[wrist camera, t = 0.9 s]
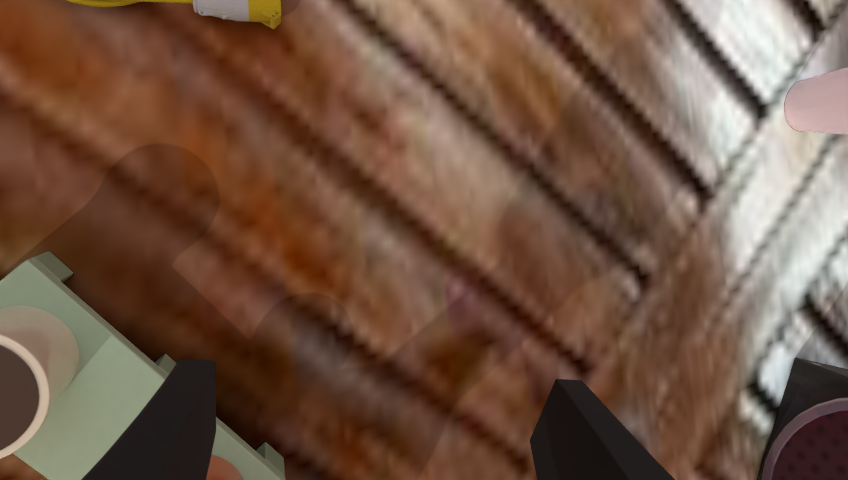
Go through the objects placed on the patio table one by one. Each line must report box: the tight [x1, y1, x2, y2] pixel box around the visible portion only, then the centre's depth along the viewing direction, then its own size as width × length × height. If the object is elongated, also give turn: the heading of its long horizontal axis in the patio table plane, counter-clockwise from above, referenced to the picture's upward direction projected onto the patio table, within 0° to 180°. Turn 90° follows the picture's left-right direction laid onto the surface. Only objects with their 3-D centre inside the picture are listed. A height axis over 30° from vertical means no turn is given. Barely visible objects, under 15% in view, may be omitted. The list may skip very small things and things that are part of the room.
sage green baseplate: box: [0, 251, 285, 480], centre depth 28 cm, size 7×17×3 cm, turn 41°
